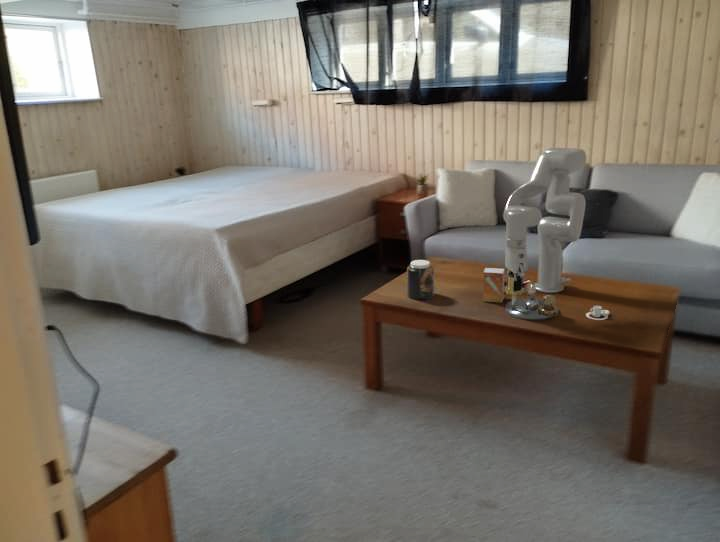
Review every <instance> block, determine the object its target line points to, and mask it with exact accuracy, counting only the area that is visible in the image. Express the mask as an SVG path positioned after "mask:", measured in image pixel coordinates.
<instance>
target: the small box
mask: <svg viewBox="0 0 720 542" xmlns="http://www.w3.org/2000/svg"><path fill="white" fill-rule="evenodd" d="M505 270H506V269H505V268H496V267H485V268H484V271H483V276H482V278H483V279H482V281H483V283H482V302H487V303H488V302H489V303H500V304H501V303H503V301H504V295H505V294H504V293H505V292H504V288H505Z"/></svg>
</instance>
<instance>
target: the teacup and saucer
mask: <svg viewBox="0 0 720 542" xmlns="http://www.w3.org/2000/svg"><path fill="white" fill-rule="evenodd" d="M610 313H611V311H609V310H608V309H603V307H602V306H600V305H593V307H592V308H590V310H589V312H587V313H586V314H585V317H587V318H588V319H591V320H595V321H604V320H607V319H608V318H609V315H610ZM590 315H592V316H593V317H594V318H593V317H591V316H590ZM600 317H602V318H600Z"/></svg>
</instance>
